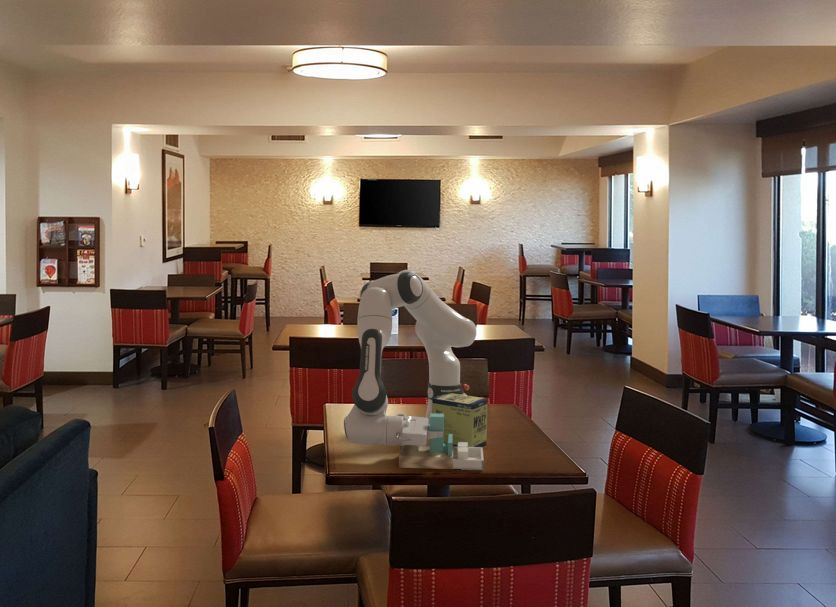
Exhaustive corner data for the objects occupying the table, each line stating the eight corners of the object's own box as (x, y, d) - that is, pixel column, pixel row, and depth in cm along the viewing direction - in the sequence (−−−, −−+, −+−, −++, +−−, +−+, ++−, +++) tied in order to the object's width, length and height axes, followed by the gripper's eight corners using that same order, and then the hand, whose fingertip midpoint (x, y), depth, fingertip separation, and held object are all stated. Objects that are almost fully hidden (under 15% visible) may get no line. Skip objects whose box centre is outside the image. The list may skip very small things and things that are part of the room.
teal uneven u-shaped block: (429, 455, 250) (429, 419, 249) (430, 446, 260) (431, 411, 259) (452, 455, 250) (452, 419, 248) (452, 446, 260) (452, 411, 258)
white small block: (458, 451, 249) (468, 451, 249) (458, 447, 254) (468, 447, 254) (457, 466, 250) (467, 466, 250) (457, 461, 254) (467, 462, 254)
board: (398, 467, 249) (398, 456, 249) (401, 455, 262) (401, 444, 262) (452, 469, 249) (453, 457, 248) (453, 456, 261) (453, 445, 261)
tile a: (457, 446, 255) (467, 446, 255) (457, 442, 259) (467, 442, 259) (457, 460, 256) (467, 460, 255) (457, 456, 260) (467, 456, 260)
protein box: (472, 452, 267) (473, 404, 265) (430, 444, 275) (431, 397, 273) (487, 444, 275) (488, 398, 274) (446, 437, 284) (447, 392, 282)
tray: (452, 469, 248) (453, 459, 248) (453, 455, 262) (453, 446, 262) (483, 470, 248) (483, 460, 247) (482, 456, 262) (482, 447, 261)
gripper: (394, 429, 244) (442, 430, 243) (399, 412, 264) (443, 413, 264) (394, 450, 245) (442, 451, 244) (399, 432, 265) (443, 433, 264)
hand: (443, 431), depth 254 cm, fingers closed on teal uneven u-shaped block, 4 cm apart
